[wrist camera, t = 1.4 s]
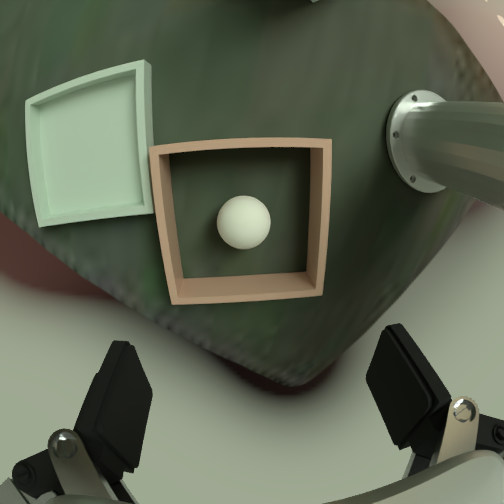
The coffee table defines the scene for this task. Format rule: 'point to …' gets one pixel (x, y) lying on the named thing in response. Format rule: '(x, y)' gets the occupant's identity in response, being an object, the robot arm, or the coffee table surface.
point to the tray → (92, 146)
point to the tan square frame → (248, 284)
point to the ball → (243, 222)
